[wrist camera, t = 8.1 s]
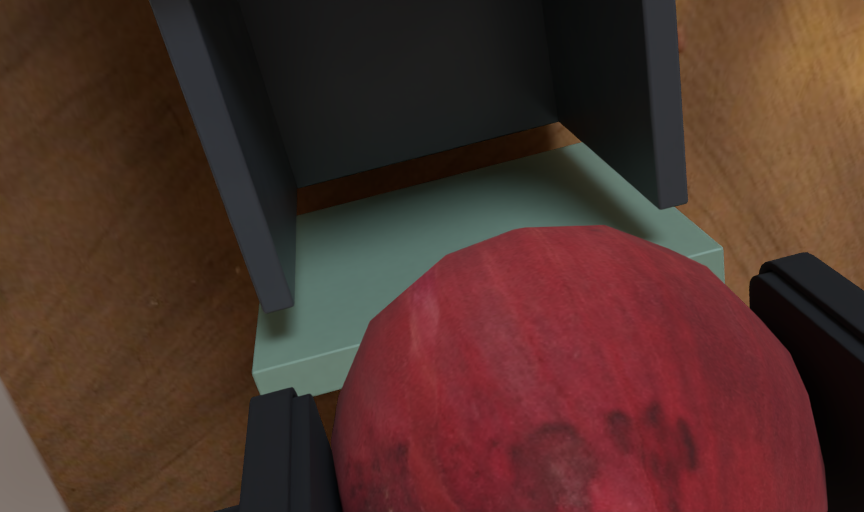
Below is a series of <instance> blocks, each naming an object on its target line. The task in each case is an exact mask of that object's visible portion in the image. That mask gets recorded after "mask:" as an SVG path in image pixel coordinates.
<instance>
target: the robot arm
mask: <svg viewBox="0 0 864 512" xmlns="http://www.w3.org/2000/svg"><path fill="white" fill-rule="evenodd" d="M749 297H750V309H751V310H752V311H753V312H754V313H755V314H756V315H757V316H758V317H759V318H760V319H761V320H762V322H763V323H764V324H765V325H766V326H767V327H768V328H769V330H770V331H771V332H772V333H773V334H774V335H775V336H776V338H777V339H778V340H779V341H780V342H781V343H782V344H783V346H784V347H785V348H786V349H787V350H788V351H789V352H790V354H791V356H792V359H793V361H794V363H795V366H796V368H797V370H798V372H799V375H800V377H801V379H802V382H803V384H804V386H805V389H806V391H807V393H808V395H809V400H810V404H811V409H812V413H813V417H814V422H815V426H816V431H817V435H818V440H819V444H820V448H821V453H822V457H823V462H824V466H825V476H826V489H827V502H828V511H827V512H864V291H863V290H862V289H861V288H859V287H858V286H856V285H855V284H853V283H852V282H851V281H849V280H848V279H846V278H845V277H843V276H842V275H841V274H839V273H838V272H836V271H835V270H833V269H832V268H831V267H829V266H828V265H826V264H825V263H824V262H822V261H821V260H819V259H818V258H816V257H815V256H814V255H812V254H809V253H807V252H805V253H799V254H795V255H791V256H787V257H783V258H780V259H776V260H772V261H768V262H765V263H764V264H763V265H762V266H761V268H760V270H759V275H756V276H754V277H752V278H751V281H750V286H749ZM214 512H342V510H341V504H340V499H339V492H338V486H337V479H336V473H335V467H334V460H333V454H332V450H331V447H330V444H329V442H328V439H327V436H326V433H325V430H324V427H323V424H322V421H321V418H320V415H319V413H318V410H317V407H316V404H315V401H314V399H313V396H312V395H311V394H306V395H302V396H298V395H297V393H296V391H295V389H294V388H293V387H290V388H286V389H282V390H278V391H274V392H271V393H267V394H263V395H259V396H256V397H252V398H251V400H250V406H249V416H248V426H247V435H246V445H245V455H244V465H243V474H242V484H241V494H240V504H239V505H236V506H233V507H229V508H225V509H222V510H218V511H214Z"/></svg>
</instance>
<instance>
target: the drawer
mask: <svg viewBox="0 0 864 512" xmlns="http://www.w3.org/2000/svg"><path fill="white" fill-rule="evenodd" d="M149 2H150V5H151V8H152V10H153V13H154V16H155V19H156V21H157V24H158V27H159V29H160V32H161V35H162V38H163V40H164V43H165V46H166V49H167V51H168V54H169V57H170V59H171V62H172V65H173V68H174V70H175V73H176V76H177V78H178V81H179V84H180V87H181V89H182V92H183V95H184V98H185V100H186V103H187V106H188V108H189V111H190V114H191V117H192V119H193V122H194V125H195V128H196V130H197V133H198V136H199V138H200V141H201V144H202V147H203V149H204V152H205V155H206V157H207V160H208V163H209V166H210V168H211V171H212V174H213V177H214V179H215V182H216V185H217V187H218V190H219V193H220V196H221V198H222V201H223V204H224V207H225V209H226V212H227V215H228V217H229V220H230V223H231V226H232V228H233V231H234V234H235V236H236V239H237V242H238V245H239V247H240V250H241V253H242V256H243V258H244V261H245V264H246V266H247V269H248V272H249V275H250V277H251V280H252V283H253V286H254V288H255V291H256V294H257V296H258V299H259V302H260V304H259V313H258V322H257V331H256V340H255V349H254V359H253V368H252V376H253V378H254V381H255V383H256V386H257V388H258V391H259V393H260V395H263V394H267V393H271V392H274V391H278V390H282V389H286V388H290V387H293V388H294V389H295V391H296V393H297V395H298V396H302V395H306V394H311V395H312V396H317V395H321V394H325V393H328V392H332V391H336V390H339V389H342V387H343V384H344V382H345V379H346V377H347V375H348V372H349V370H350V367H351V365H352V363H353V360H354V358H355V355H356V353H357V351H358V348H359V346H360V343H361V341H362V339H363V336H364V334H365V331H366V329H367V327H368V324H369V322H370V320H372V319H373V318H374V317H375V316H376V315H377V314H378V313H380V312H381V311H382V310H383V309H384V308H385V307H386V306H387V305H389V304H390V303H391V302H392V301H393V300H394V299H395V298H397V297H398V296H399V295H400V294H401V293H402V292H404V291H405V290H406V289H407V288H408V287H409V286H410V285H412V284H413V283H414V282H415V281H416V280H417V279H419V278H420V277H421V276H422V275H423V274H424V273H426V272H427V271H428V270H429V269H430V268H431V267H432V266H434V265H435V264H436V263H437V262H438V261H439V260H440V259H442V258H443V257H444V256H445V255H447V254H449V253H452V252H455V251H457V250H460V249H463V248H465V247H468V246H471V245H473V244H476V243H479V242H481V241H484V240H487V239H489V238H492V237H495V236H497V235H500V234H503V233H505V232H508V231H511V230H513V229H518V228H524V227H554V226H587V225H606V226H609V227H611V228H614V229H617V230H620V231H622V232H625V233H628V234H630V235H633V236H636V237H639V238H641V239H644V240H647V241H649V242H652V243H655V244H658V245H660V246H663V247H666V248H669V249H671V250H673V251H675V252H677V253H679V254H681V255H684V256H686V257H688V258H690V259H692V260H694V261H696V262H698V263H701V264H703V265H705V266H707V267H708V268H709V269H710V270H711V271H712V272H713V273H714V274H715V275H716V276H717V277H718V278H719V279H720V280H721V281H722V282H723V283H724V284H725V279H724V255H723V247H722V246H720V245H719V244H718V243H717V242H716V241H714V240H713V239H712V238H711V237H710V236H709V235H707V234H706V233H705V232H704V231H703V230H701V229H700V228H699V227H698V226H697V225H695V224H694V223H693V222H692V221H691V220H689V219H688V218H687V217H686V216H685V215H683V214H682V213H681V212H680V211H679V210H677V209H676V208H675V206H679V205H682V204H686V203H687V202H688V194H687V178H686V162H685V146H684V130H683V115H682V99H681V83H680V67H679V51H678V35H677V19H676V4H675V0H149ZM556 122H560V123H561V124H562V125H563V126H565V127H566V128H567V129H568V130H569V131H570V132H571V133H573V134H574V135H575V136H576V137H577V138H578V139H579V140H581V141H582V142H581V143H577V144H573V145H570V146H566V147H562V148H558V149H554V150H550V151H546V152H542V153H538V154H535V155H531V156H527V157H523V158H519V159H515V160H511V161H507V162H504V163H500V164H496V165H492V166H488V167H484V168H480V169H476V170H472V171H469V172H465V173H461V174H457V175H453V176H449V177H445V178H441V179H438V180H434V181H430V182H426V183H422V184H418V185H414V186H410V187H406V188H403V189H399V190H395V191H391V192H387V193H383V194H379V195H375V196H372V197H368V198H364V199H360V200H356V201H352V202H348V203H344V204H340V205H337V206H333V207H329V208H325V209H321V210H317V211H313V212H309V213H306V214H302V215H298V216H297V189H298V188H302V187H305V186H309V185H313V184H317V183H321V182H325V181H329V180H333V179H337V178H341V177H345V176H348V175H352V174H356V173H360V172H364V171H368V170H372V169H376V168H380V167H384V166H388V165H391V164H395V163H399V162H403V161H407V160H411V159H415V158H419V157H423V156H427V155H431V154H434V153H438V152H442V151H446V150H450V149H454V148H458V147H462V146H466V145H470V144H473V143H477V142H481V141H485V140H489V139H493V138H497V137H501V136H505V135H509V134H513V133H516V132H520V131H524V130H528V129H532V128H536V127H540V126H544V125H548V124H552V123H556Z"/></svg>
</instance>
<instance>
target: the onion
mask: <svg viewBox="0 0 864 512" xmlns="http://www.w3.org/2000/svg"><path fill="white" fill-rule="evenodd" d="M331 447H332V454H333V460H334V467H335V473H336V479H337V486H338V492H339V499H340V504H341V510H342V512H827V511H828V502H827V489H826V476H825V466H824V462H823V457H822V453H821V448H820V444H819V440H818V435H817V431H816V426H815V422H814V417H813V413H812V409H811V404H810V400H809V395H808V393H807V391H806V389H805V386H804V384H803V382H802V379H801V377H800V375H799V372H798V370H797V368H796V366H795V363H794V361H793V359H792V356H791V354H790V352H789V351H788V350H787V349H786V348H785V347H784V346H783V344H782V343H781V342H780V341H779V340H778V339H777V338H776V336H775V335H774V334H773V333H772V332H771V331H770V330H769V328H768V327H767V326H766V325H765V324H764V323H763V322H762V320H761V319H760V318H759V317H758V316H757V315H756V314H755V313H754V312H753V311H752V310H751V309H750V308H749V307H748V306H747V305H746V304H745V303H744V302H743V301H742V300H741V299H740V298H739V297H738V296H737V295H735V294H734V293H733V292H732V291H731V290H730V289H729V288H728V287H727V286H726V285H725V284H724V283H723V282H722V281H721V280H720V279H719V278H718V277H717V276H716V275H715V274H714V273H713V272H712V271H711V270H710V269H709V268H708V267H707V266H705V265H703V264H701V263H698V262H696V261H694V260H692V259H690V258H688V257H686V256H684V255H681V254H679V253H677V252H675V251H673V250H671V249H669V248H666V247H663V246H660V245H658V244H655V243H652V242H649V241H647V240H644V239H641V238H639V237H636V236H633V235H630V234H628V233H625V232H622V231H620V230H617V229H614V228H611V227H609V226H606V225H587V226H554V227H524V228H518V229H513V230H511V231H508V232H505V233H503V234H500V235H497V236H495V237H492V238H489V239H487V240H484V241H481V242H479V243H476V244H473V245H471V246H468V247H465V248H463V249H460V250H457V251H455V252H452V253H449V254H447V255H445V256H444V257H443V258H442V259H440V260H439V261H438V262H437V263H436V264H435V265H434V266H432V267H431V268H430V269H429V270H428V271H427V272H426V273H424V274H423V275H422V276H421V277H420V278H419V279H417V280H416V281H415V282H414V283H413V284H412V285H410V286H409V287H408V288H407V289H406V290H405V291H404V292H402V293H401V294H400V295H399V296H398V297H397V298H395V299H394V300H393V301H392V302H391V303H390V304H389V305H387V306H386V307H385V308H384V309H383V310H382V311H381V312H380V313H378V314H377V315H376V316H375V317H374V318H373V319H372V320H370V322H369V324H368V327H367V329H366V331H365V334H364V336H363V339H362V341H361V343H360V346H359V348H358V351H357V353H356V355H355V358H354V360H353V363H352V365H351V367H350V370H349V372H348V375H347V377H346V379H345V382H344V384H343V387H342V389H341V391H340V394H339V396H338V402H337V408H336V414H335V420H334V426H333V432H332V438H331Z"/></svg>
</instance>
